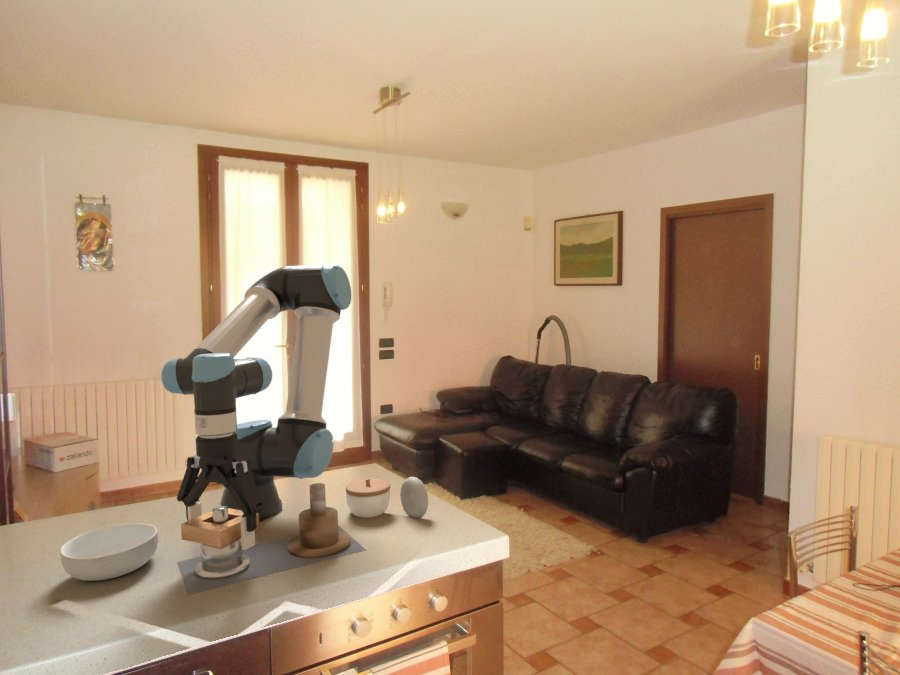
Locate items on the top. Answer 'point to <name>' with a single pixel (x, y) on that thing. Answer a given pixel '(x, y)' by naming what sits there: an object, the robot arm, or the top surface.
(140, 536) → the cereal bowl
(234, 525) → the wooden square ring
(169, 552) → the top surface
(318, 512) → the walnut hub
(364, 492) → the lidded jar
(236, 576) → the rubber mat
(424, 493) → the grey piece
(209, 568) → the pale stepped hub
